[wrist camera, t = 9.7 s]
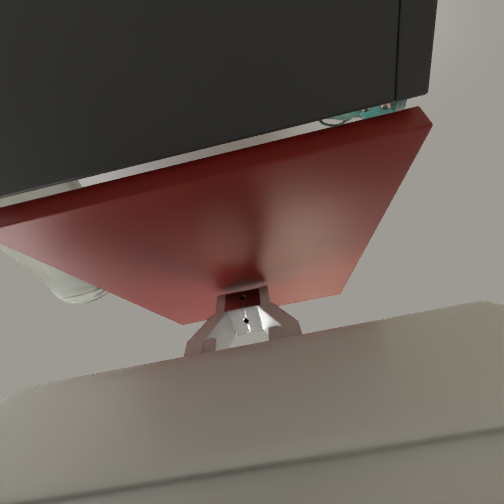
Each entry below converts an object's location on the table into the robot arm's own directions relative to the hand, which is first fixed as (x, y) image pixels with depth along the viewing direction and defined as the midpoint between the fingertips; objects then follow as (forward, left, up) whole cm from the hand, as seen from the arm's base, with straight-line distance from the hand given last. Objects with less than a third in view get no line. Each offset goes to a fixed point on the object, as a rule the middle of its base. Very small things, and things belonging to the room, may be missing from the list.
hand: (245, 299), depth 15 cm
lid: (0, 0, -2) cm, 3 cm away
